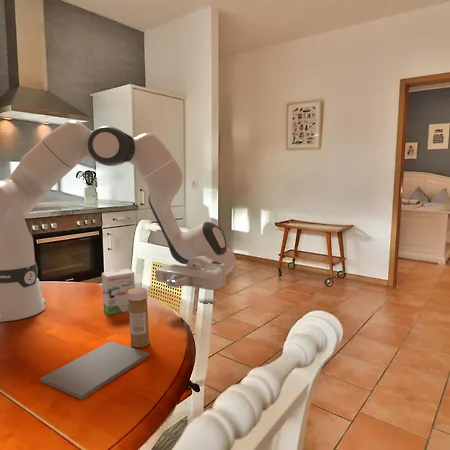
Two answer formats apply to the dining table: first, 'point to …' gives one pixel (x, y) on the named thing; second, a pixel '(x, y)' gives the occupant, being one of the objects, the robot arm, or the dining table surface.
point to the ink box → (117, 290)
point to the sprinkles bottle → (138, 317)
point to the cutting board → (94, 369)
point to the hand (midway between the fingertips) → (171, 284)
